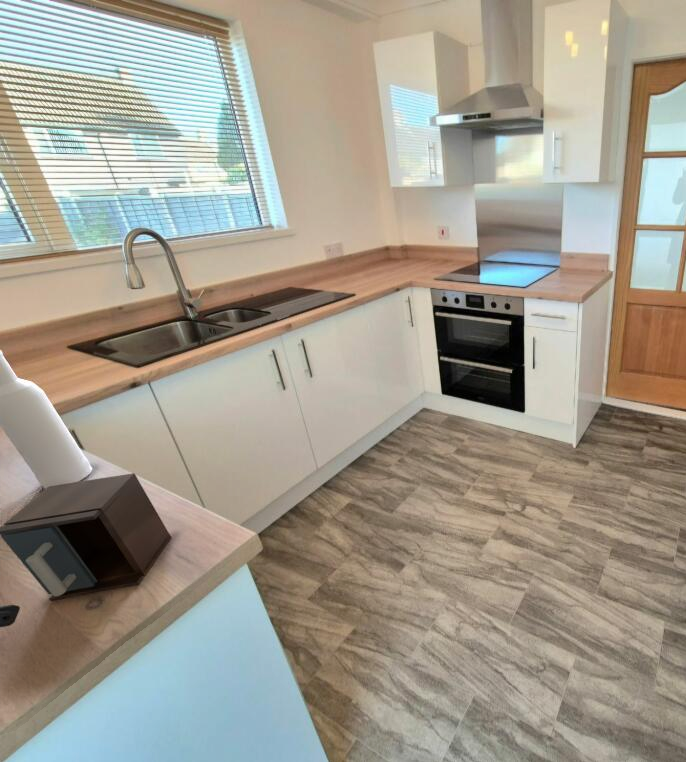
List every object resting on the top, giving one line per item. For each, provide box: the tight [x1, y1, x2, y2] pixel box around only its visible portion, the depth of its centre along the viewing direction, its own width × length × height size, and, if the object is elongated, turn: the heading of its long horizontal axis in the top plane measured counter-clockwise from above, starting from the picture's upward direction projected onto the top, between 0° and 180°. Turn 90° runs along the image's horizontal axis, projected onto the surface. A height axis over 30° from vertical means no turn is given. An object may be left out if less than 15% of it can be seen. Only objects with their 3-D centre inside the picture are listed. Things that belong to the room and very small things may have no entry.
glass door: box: [0, 526, 95, 596], centre depth 60 cm, size 6×4×12 cm, turn 101°
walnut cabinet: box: [0, 472, 172, 602], centre depth 65 cm, size 12×10×14 cm
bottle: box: [0, 349, 93, 490], centre depth 84 cm, size 8×8×30 cm
